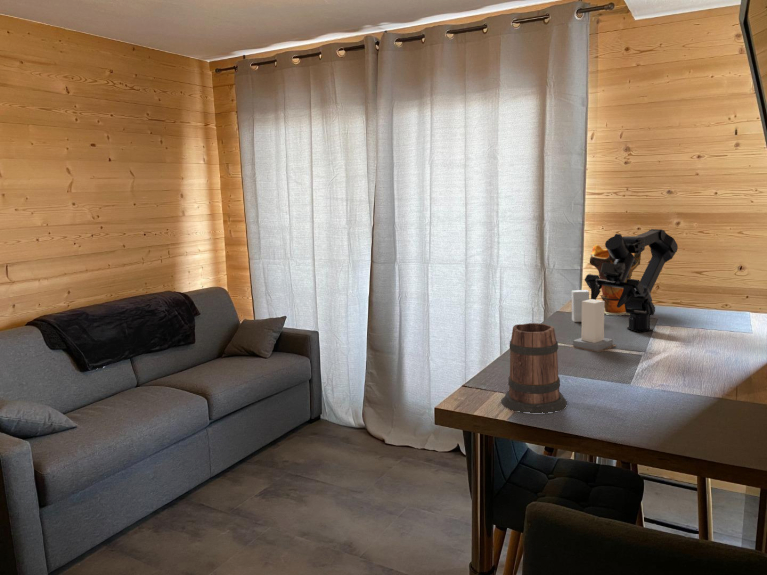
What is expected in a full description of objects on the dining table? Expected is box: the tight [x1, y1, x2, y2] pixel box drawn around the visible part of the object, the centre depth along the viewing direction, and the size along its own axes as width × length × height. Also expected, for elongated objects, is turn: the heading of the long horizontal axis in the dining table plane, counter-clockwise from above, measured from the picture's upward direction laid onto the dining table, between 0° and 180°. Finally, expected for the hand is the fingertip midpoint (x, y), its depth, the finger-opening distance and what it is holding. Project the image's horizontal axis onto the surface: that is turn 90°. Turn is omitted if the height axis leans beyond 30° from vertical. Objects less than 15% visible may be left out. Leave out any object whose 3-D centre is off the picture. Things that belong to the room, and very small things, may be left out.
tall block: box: [580, 298, 605, 343], centre depth 199 cm, size 5×5×13 cm
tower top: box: [572, 337, 614, 352], centre depth 200 cm, size 9×9×2 cm
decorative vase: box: [589, 244, 642, 316], centre depth 250 cm, size 21×23×28 cm
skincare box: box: [571, 289, 590, 323], centre depth 238 cm, size 6×4×12 cm
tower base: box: [569, 343, 617, 352], centre depth 200 cm, size 11×11×2 cm
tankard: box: [500, 322, 568, 413], centre depth 158 cm, size 24×17×20 cm
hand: (604, 305), depth 203 cm, fingers open, 9 cm apart
